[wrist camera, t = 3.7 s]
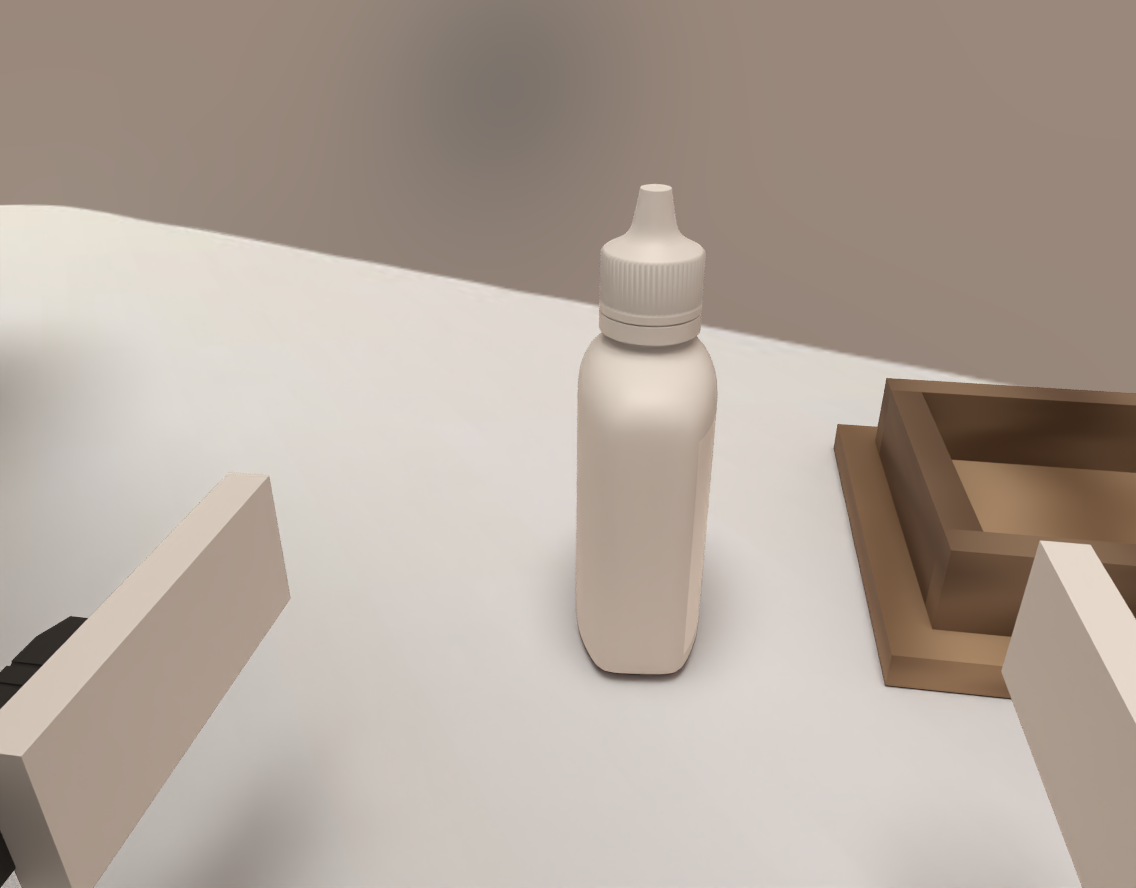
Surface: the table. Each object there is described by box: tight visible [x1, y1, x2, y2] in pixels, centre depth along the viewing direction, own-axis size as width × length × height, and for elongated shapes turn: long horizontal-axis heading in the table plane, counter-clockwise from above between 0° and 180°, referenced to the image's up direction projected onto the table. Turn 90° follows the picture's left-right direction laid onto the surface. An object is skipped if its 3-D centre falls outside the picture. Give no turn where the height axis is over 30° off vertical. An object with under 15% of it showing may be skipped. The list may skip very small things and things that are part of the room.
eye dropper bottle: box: [576, 184, 717, 674], centre depth 23 cm, size 4×6×12 cm
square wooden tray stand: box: [834, 378, 1136, 698], centre depth 28 cm, size 13×13×4 cm
